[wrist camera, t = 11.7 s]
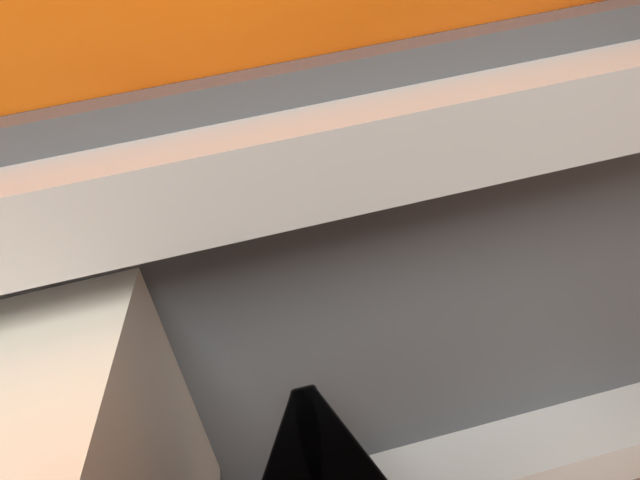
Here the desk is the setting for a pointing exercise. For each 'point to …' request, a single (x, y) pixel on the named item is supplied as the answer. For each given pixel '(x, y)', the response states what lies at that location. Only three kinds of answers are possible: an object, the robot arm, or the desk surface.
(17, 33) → the desk surface
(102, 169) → the rail board
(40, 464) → the block
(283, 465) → the robot arm
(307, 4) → the desk surface
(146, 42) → the desk surface
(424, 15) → the desk surface
